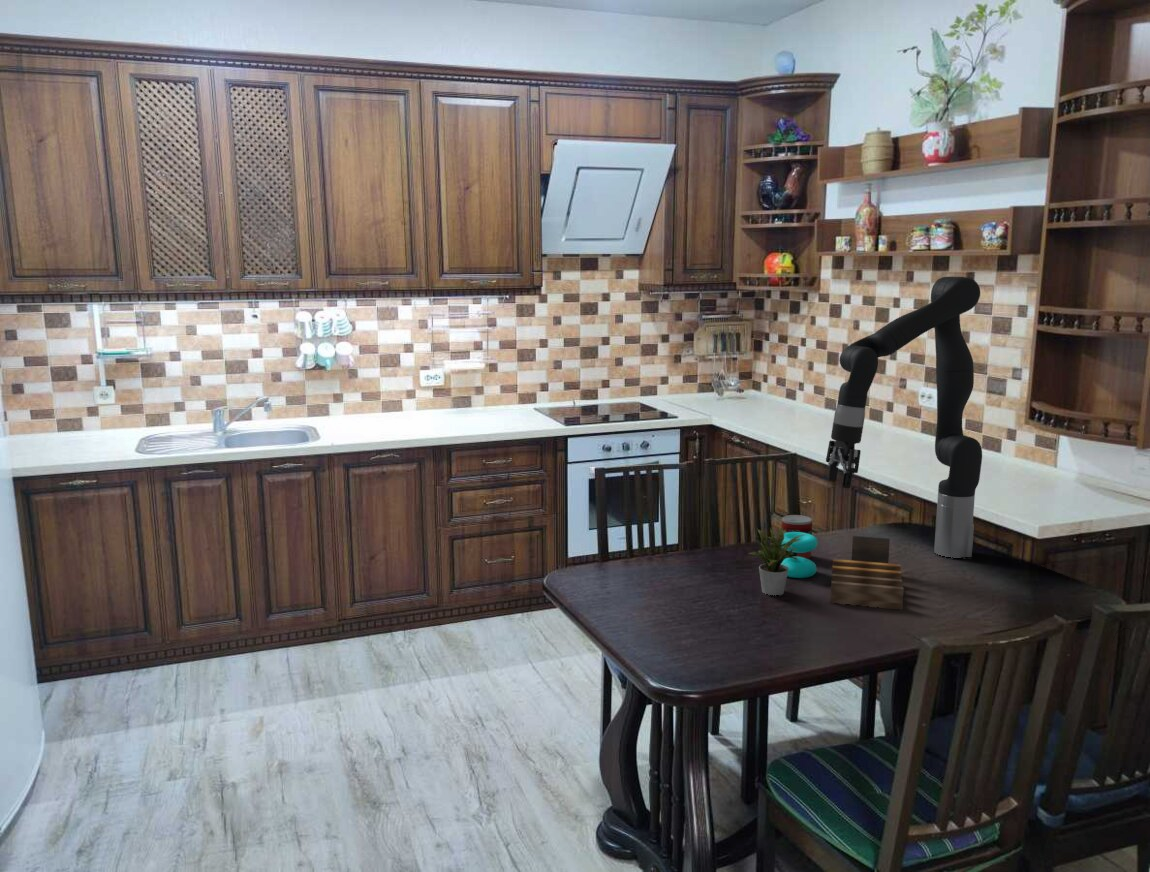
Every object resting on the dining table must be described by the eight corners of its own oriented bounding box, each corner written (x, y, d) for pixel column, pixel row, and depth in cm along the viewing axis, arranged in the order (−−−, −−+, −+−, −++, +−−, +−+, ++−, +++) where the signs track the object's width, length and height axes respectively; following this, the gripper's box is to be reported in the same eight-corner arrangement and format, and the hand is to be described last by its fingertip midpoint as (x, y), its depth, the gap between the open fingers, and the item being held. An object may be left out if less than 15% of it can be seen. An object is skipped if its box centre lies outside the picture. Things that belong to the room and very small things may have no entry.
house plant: (805, 606, 213) (808, 539, 210) (745, 602, 216) (747, 536, 212) (803, 585, 227) (805, 522, 223) (746, 582, 229) (748, 519, 226)
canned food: (775, 554, 251) (776, 516, 249) (801, 551, 253) (802, 513, 251) (790, 563, 244) (791, 523, 242) (816, 560, 246) (817, 520, 244)
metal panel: (887, 573, 235) (889, 535, 233) (887, 576, 233) (889, 538, 231) (851, 570, 238) (852, 533, 236) (850, 573, 236) (852, 535, 234)
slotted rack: (899, 584, 226) (900, 564, 226) (902, 609, 210) (903, 588, 209) (832, 578, 231) (833, 559, 230) (830, 603, 215) (831, 581, 214)
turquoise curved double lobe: (780, 541, 230) (775, 530, 239) (779, 579, 231) (774, 566, 241) (821, 542, 229) (814, 530, 238) (819, 580, 230) (813, 567, 240)
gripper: (874, 428, 229) (864, 491, 231) (849, 420, 243) (840, 479, 245) (846, 426, 228) (836, 489, 230) (823, 417, 242) (814, 477, 244)
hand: (838, 484), depth 238 cm, fingers open, 8 cm apart
